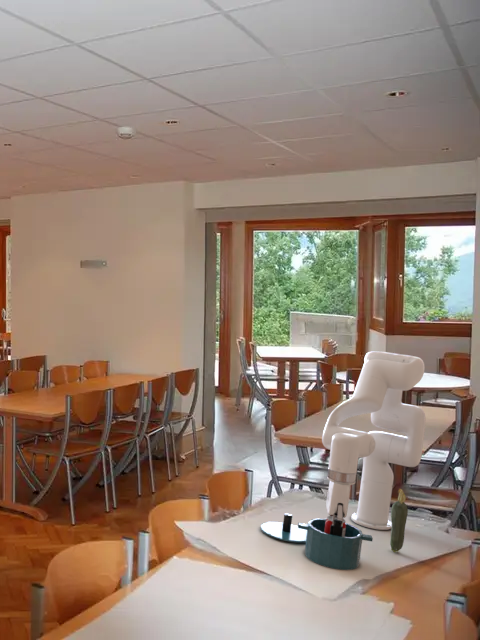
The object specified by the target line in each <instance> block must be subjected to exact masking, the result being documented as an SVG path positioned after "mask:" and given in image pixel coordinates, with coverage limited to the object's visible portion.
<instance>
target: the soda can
mask: <svg viewBox="0 0 480 640" xmlns="http://www.w3.org/2000/svg"><path fill="white" fill-rule="evenodd" d="M326 519H327V520H326V522H325V530H324V533H327V534H330V528H331V525H332V519H333V516H330V515H328V516H327V517H326ZM335 519H337V518H336V517H335ZM345 523H346V519H345V518H343V531H342V537H345V530H346V524H345Z"/></svg>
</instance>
